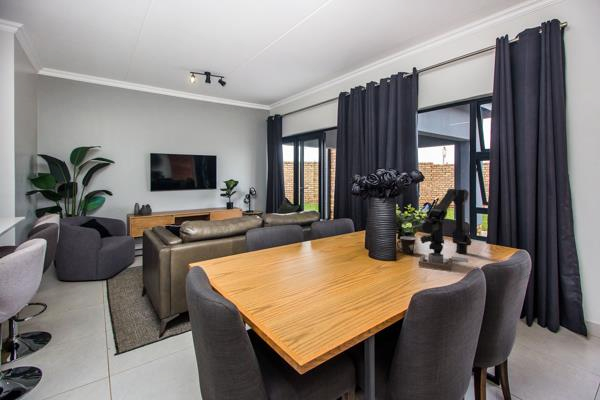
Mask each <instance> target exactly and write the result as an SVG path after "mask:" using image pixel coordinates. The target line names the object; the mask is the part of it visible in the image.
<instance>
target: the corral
mask: <svg viewBox="0 0 600 400" xmlns="http://www.w3.org/2000/svg"><path fill="white" fill-rule="evenodd" d="M425 259H426V255H425V254H421V256H420V259H419V260H418V267H419V268H421V269H424V268H426V269H428V270H431V269H433V270H435V271H438V270H440V272H443V271H444V272H445V271H447V272H448V273H451V272H452V265H453V264H452V263H453V260H452V258H451V257H448V261H447V264H444V263H443V264H438V263H431V262H428V261H425Z"/></svg>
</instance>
